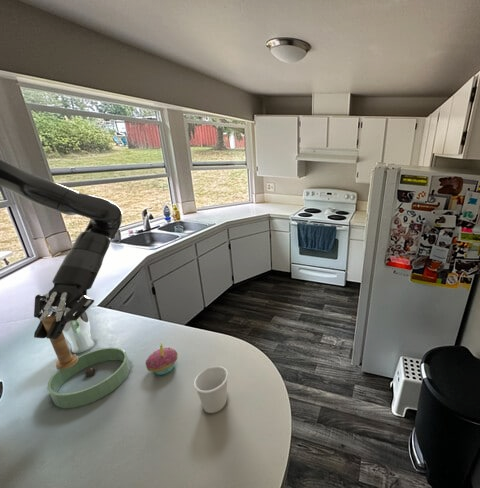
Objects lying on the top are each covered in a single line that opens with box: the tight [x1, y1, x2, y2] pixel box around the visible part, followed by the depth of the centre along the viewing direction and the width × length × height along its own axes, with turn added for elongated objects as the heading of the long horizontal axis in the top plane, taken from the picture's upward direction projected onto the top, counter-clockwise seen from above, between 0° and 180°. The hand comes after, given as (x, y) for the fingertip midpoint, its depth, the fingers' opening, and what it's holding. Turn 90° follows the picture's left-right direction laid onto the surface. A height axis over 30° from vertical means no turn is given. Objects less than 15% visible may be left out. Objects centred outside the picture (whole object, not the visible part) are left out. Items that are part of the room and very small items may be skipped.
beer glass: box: [62, 311, 95, 354], centre depth 85 cm, size 7×7×15 cm
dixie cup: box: [193, 365, 229, 414], centre depth 68 cm, size 8×8×10 cm
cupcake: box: [145, 343, 179, 376], centre depth 78 cm, size 9×8×12 cm
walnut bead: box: [84, 367, 97, 377], centre depth 76 cm, size 2×2×2 cm
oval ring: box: [46, 347, 131, 409], centre depth 74 cm, size 17×17×6 cm
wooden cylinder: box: [42, 315, 79, 370], centre depth 62 cm, size 4×4×14 cm
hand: (45, 337), depth 59 cm, fingers closed on wooden cylinder, 2 cm apart
